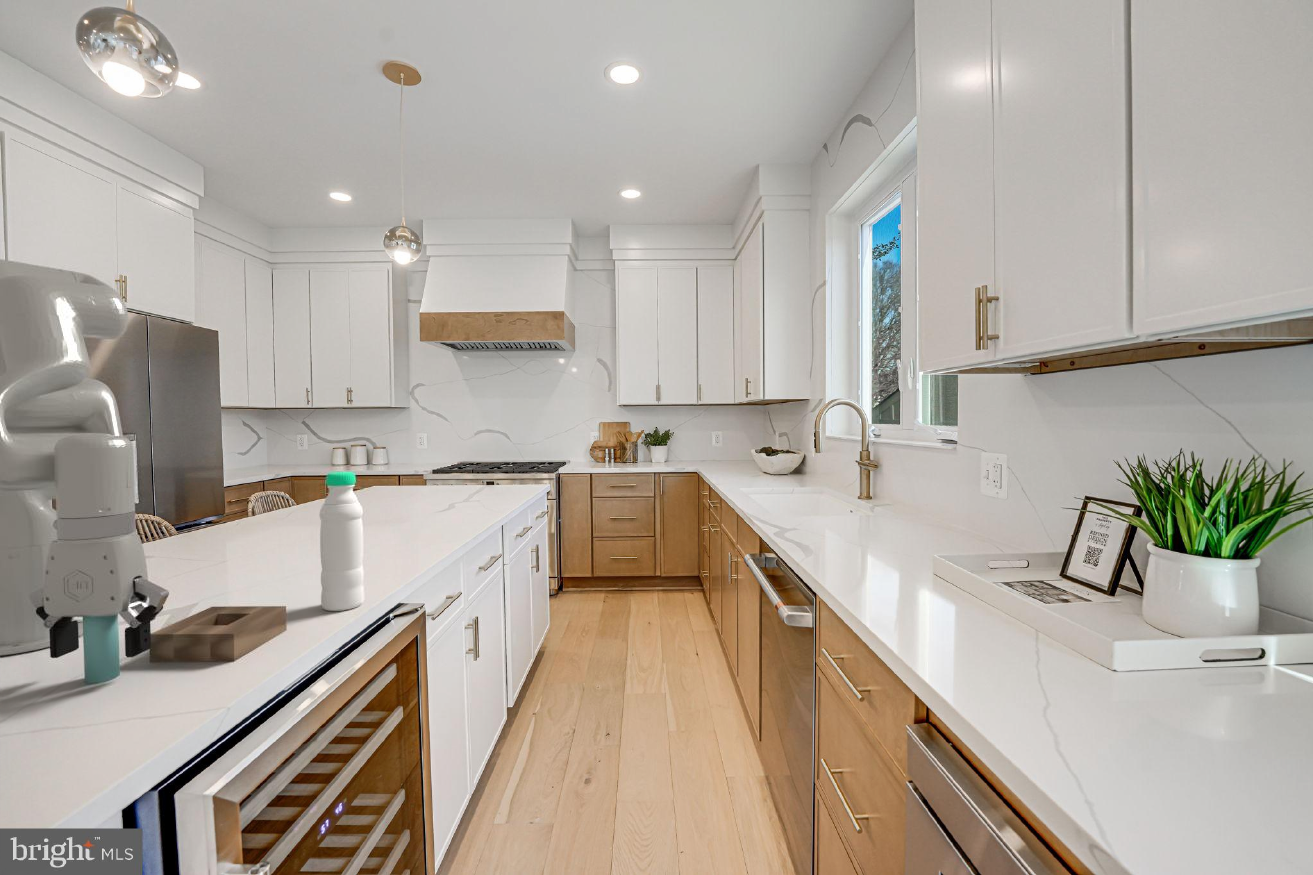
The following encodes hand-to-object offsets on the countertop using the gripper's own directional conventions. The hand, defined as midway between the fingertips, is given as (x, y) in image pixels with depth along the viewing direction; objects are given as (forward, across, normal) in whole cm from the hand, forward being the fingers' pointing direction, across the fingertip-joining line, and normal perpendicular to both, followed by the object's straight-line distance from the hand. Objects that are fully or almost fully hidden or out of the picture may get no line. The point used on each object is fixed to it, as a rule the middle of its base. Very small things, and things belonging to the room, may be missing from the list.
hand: (101, 653), depth 77 cm
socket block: (+3, +8, +11) cm, 14 cm away
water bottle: (+4, +17, +29) cm, 34 cm away
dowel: (+3, 0, 0) cm, 3 cm away
